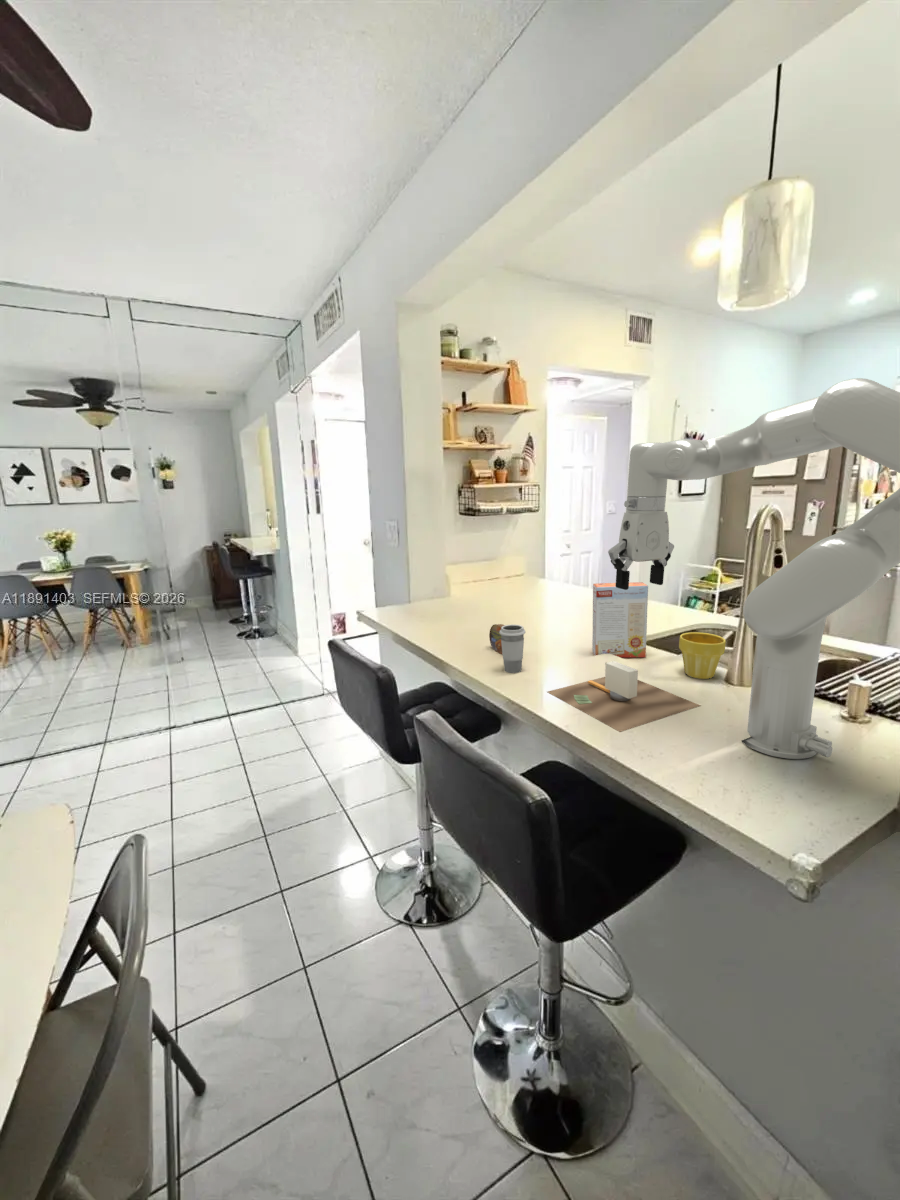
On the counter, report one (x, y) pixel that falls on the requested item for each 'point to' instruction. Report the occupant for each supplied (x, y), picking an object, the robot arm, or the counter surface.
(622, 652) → the cracker box
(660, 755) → the counter surface
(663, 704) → the dial board
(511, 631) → the cup
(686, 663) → the plant pot
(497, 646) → the tin
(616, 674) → the knob
